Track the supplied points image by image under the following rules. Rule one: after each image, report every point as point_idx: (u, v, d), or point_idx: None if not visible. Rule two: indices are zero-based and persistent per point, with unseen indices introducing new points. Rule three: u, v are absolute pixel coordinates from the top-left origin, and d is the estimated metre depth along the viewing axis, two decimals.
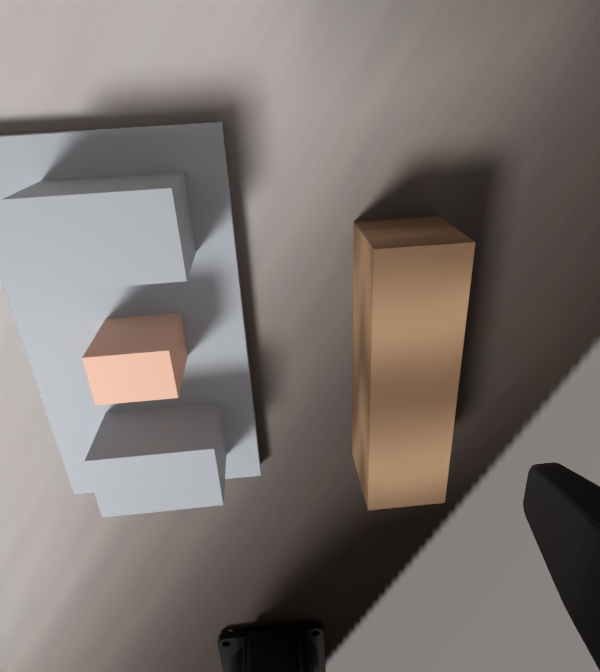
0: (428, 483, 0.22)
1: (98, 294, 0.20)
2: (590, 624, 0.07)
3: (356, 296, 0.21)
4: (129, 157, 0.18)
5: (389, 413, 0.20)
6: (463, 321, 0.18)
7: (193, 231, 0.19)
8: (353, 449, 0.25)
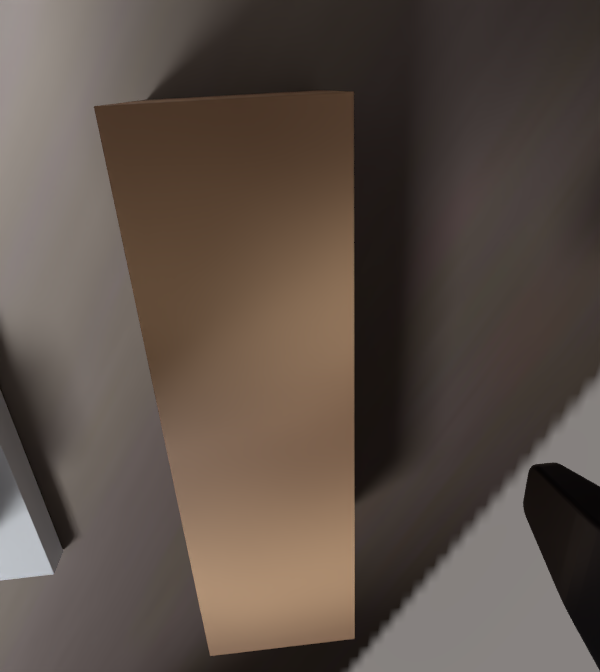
0: (318, 609, 0.12)
1: None
2: (590, 624, 0.07)
3: None
4: None
5: (215, 488, 0.10)
6: (348, 295, 0.08)
7: None
8: None
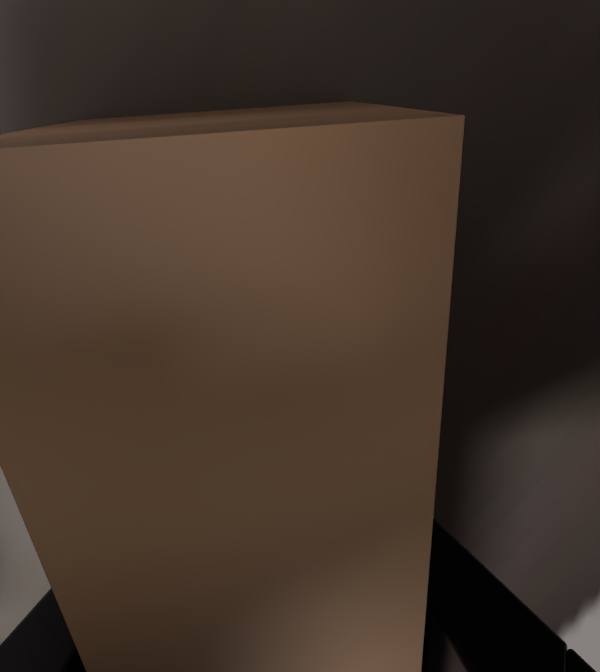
0: None
1: None
2: None
3: None
4: None
5: None
6: (425, 487, 0.04)
7: None
8: None
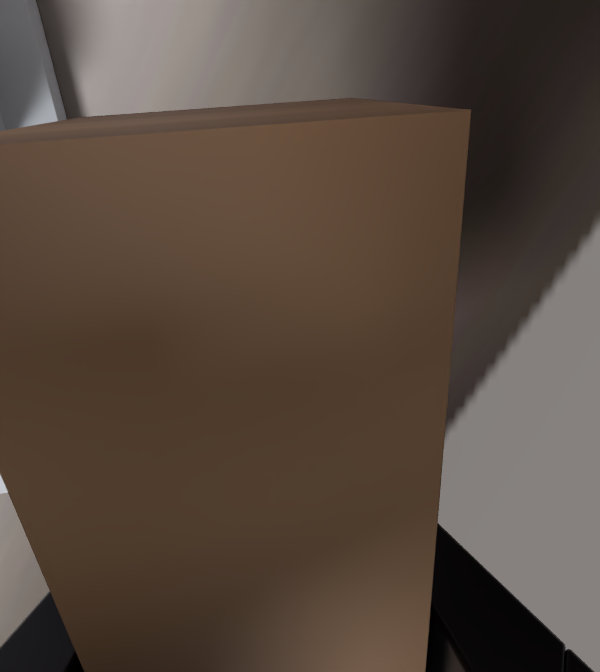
0: None
1: None
2: None
3: None
4: None
5: None
6: (429, 490, 0.04)
7: (1, 115, 0.14)
8: None
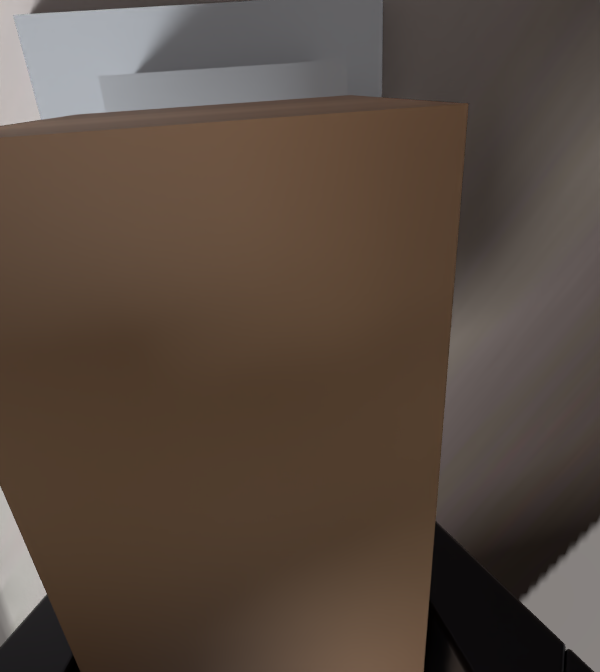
0: None
1: None
2: None
3: None
4: (253, 44, 0.13)
5: None
6: (428, 487, 0.04)
7: None
8: None
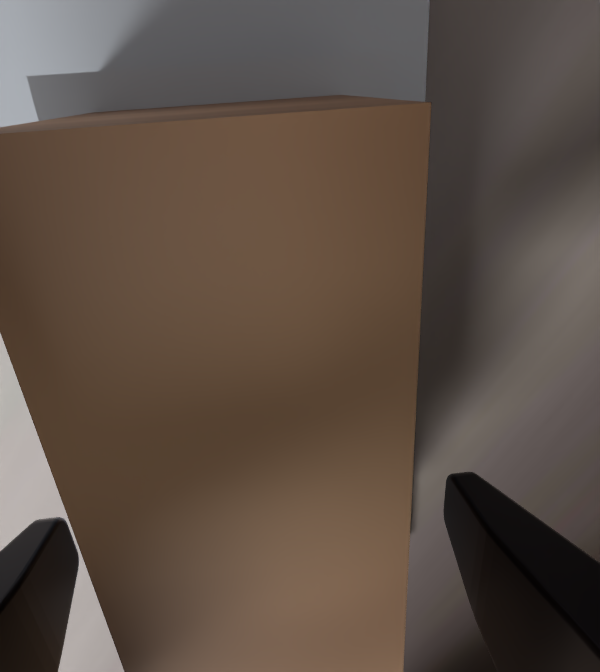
0: None
1: None
2: (493, 636, 0.07)
3: None
4: (256, 33, 0.10)
5: None
6: (405, 437, 0.05)
7: None
8: None
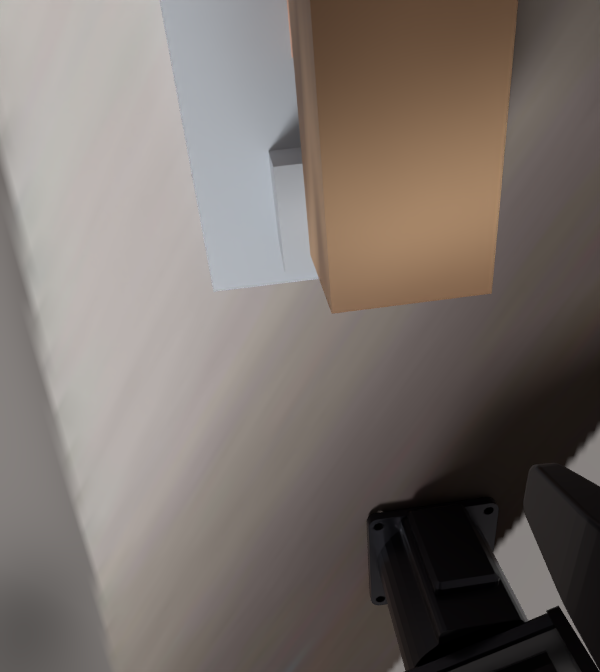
0: (456, 242, 0.10)
1: None
2: (590, 624, 0.07)
3: None
4: None
5: (357, 27, 0.08)
6: None
7: None
8: (310, 241, 0.14)
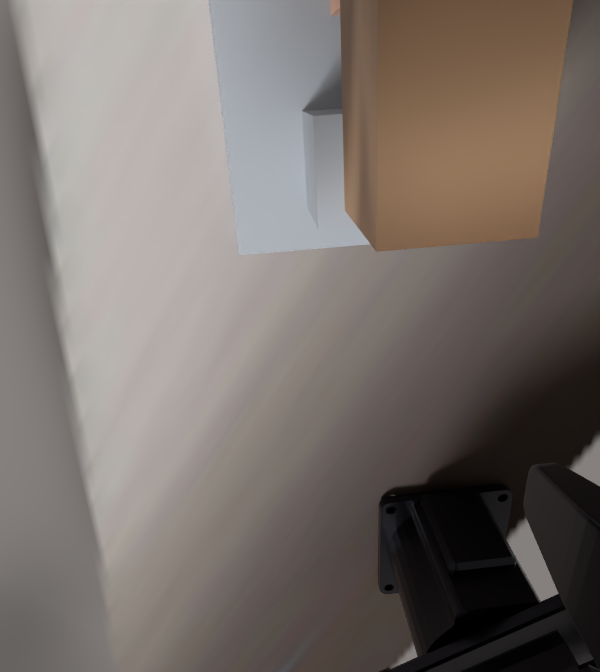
0: (506, 180, 0.10)
1: None
2: (590, 624, 0.07)
3: None
4: None
5: None
6: None
7: None
8: (347, 194, 0.14)
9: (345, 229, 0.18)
